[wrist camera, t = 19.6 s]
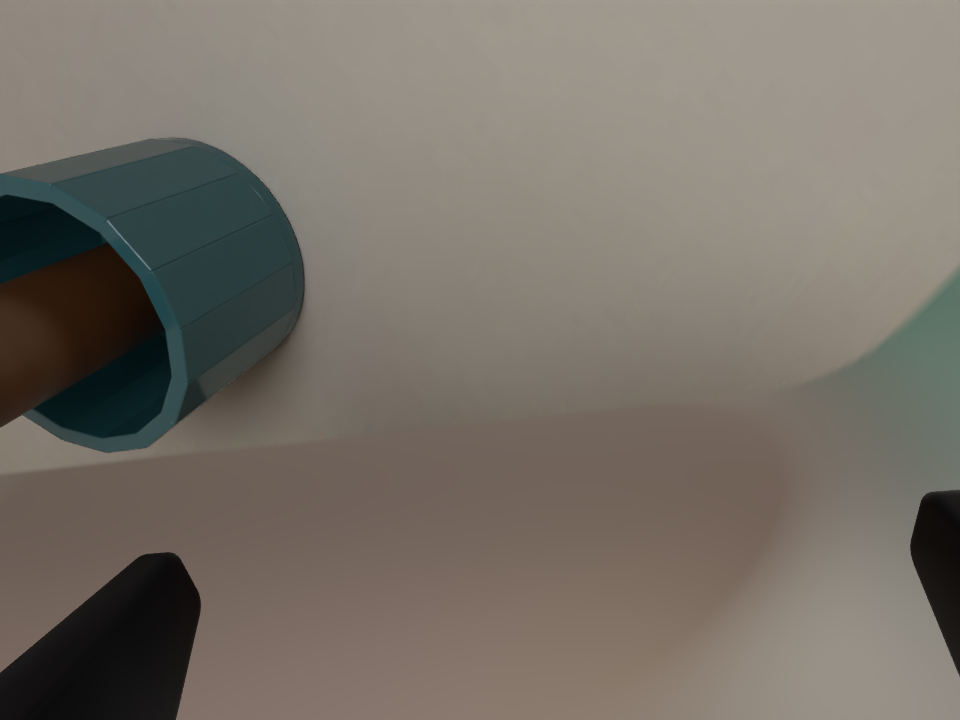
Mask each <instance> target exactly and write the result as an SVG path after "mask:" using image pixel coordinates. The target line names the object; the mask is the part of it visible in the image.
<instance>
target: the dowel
mask: <svg viewBox="0 0 960 720" xmlns="http://www.w3.org/2000/svg"><path fill="white" fill-rule="evenodd" d="M164 331H165V329H164V327H163V325H162V323H161V321H160V319H159V317H158V315H157V313H156V310H155V308H154V306H153V304H152V302H151V300H150V298H149V296H148V294H147V292H146V290H145V288H144V286H143V284H142V282H141V280H140V278H139V277H138V276H137V275H136V274H135V272H134V271H133V270H132V269H131V268H130V267H129V266H128V265H127V263H126V262H125V261H124V260H123V259H122V258H121V257H120V256H119V254H118V253H117V252H116V251H115V250H114V249H113V248H112V247H111V245H110V244H109V243H108V242H107V243H105V244H102V245H99V246H97V247H94V248H92V249H89V250H87V251H84V252H81V253H79V254H76V255H74V256H71V257H68V258H66V259H63V260H61V261H58V262H55V263H53V264H50V265H48V266H45V267H42V268H40V269H37V270H35V271H32V272H29V273H27V274H24V275H22V276H19V277H17V278H14V279H11V280H9V281H6V282H4V283H1V284H0V428H1V427H2V426H4V425H6V424H7V423H9V422H11V421H12V420H14V419H16V418H18V417H19V416H21V415H23V414H24V413H26V412H28V411H29V410H31V409H33V408H35V407H36V406H38V405H40V404H41V403H43V402H45V401H47V400H48V399H50V398H52V397H53V396H55V395H57V394H58V393H60V392H62V391H64V390H65V389H67V388H69V387H70V386H72V385H74V384H76V383H77V382H79V381H81V380H82V379H84V378H86V377H87V376H89V375H91V374H93V373H94V372H96V371H98V370H99V369H101V368H103V367H105V366H106V365H108V364H110V363H111V362H113V361H115V360H116V359H118V358H120V357H122V356H123V355H125V354H127V353H128V352H130V351H132V350H133V349H135V348H137V347H139V346H140V345H142V344H144V343H145V342H147V341H149V340H151V339H152V338H154V337H156V336H157V335H159V334H161V333H162V332H164Z"/></svg>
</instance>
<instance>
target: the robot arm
mask: <svg viewBox="0 0 960 720" xmlns="http://www.w3.org/2000/svg"><path fill="white" fill-rule="evenodd" d="M910 547H911V548H910V550H911V556H912V560H913V563H914V566H915V568H916V571H917V573H918V576H919V578H920V580H921V583H922V585H923V588H924V590H925V593H926V595H927V598H928V600H929V603H930V605H931V607H932V610H933V613H934V615H935V617H936V620H937V622H938V624H939V627H940V629H941V632H942V634H943V637H944V639H945V642H946V644H947V647H948V649H949V651H950V654H951V656H952V659H953V661H954V664H955V666H956V669H957V671H958V673H959V675H960V490H950V491H937V492H930V493H927V494H926V495H925V496H924V497H923V498H922V500H921V503H920V507H919V511H918V515H917V519H916V523H915V526H914V530H913V535H912V538H911V544H910ZM200 609H201V601H200V596H199V593H198V590H197V588H196V587H195V585H194V583H193V581H192V579H191V577H190V576H189V574H188V572H187V570H186V569H185V566H184V565H183V563H182V561H181V559H180V558H179V557H178V556H177V555H175V554H174V553H170V552H166V553H154V554H145V555H142V556H140V557H138V558H137V559H136V560H134V561H133V562H132V563H131V564H130V565H129V566H127V567H126V568H125V569H124V570H122V571H121V572H120V573H119V574H118V575H117V576H115V577H114V578H113V579H112V580H110V581H109V582H108V583H107V584H106V585H105V586H103V587H102V588H101V589H100V590H99V591H97V592H96V593H95V594H94V595H93V596H91V597H90V598H89V599H88V600H87V601H85V602H84V603H83V604H82V605H81V606H79V607H78V608H77V609H76V610H75V611H73V612H72V613H71V614H70V615H69V616H68V617H66V618H65V619H64V620H63V621H62V622H60V623H59V624H58V625H57V626H56V627H54V629H52V630H51V631H50V632H48V633H47V634H46V635H45V636H44V637H42V638H41V639H40V640H39V641H38V642H36V643H35V644H34V645H33V646H32V647H30V648H29V649H28V650H27V651H26V652H25V653H23V654H22V655H21V656H20V657H19V658H17V659H16V660H15V661H14V662H13V663H12V664H10V665H9V666H8V667H7V668H6V669H4V670H3V671H2V672H1V673H0V720H176V716H177V712H178V708H179V704H180V700H181V695H182V691H183V686H184V682H185V677H186V673H187V669H188V664H189V660H190V656H191V651H192V647H193V642H194V638H195V633H196V629H197V625H198V620H199V616H200Z"/></svg>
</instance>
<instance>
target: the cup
mask: <svg viewBox="0 0 960 720" xmlns="http://www.w3.org/2000/svg"><path fill="white" fill-rule="evenodd" d="M107 242H108V243H109V244H110V245H111V247H112V248H113V249H114V250H115V251H116V252H117V253H118V254H119V256H120V257H121V258H122V259H123V260H124V261H125V262H126V263H127V265H128V266H129V267H130V268H131V269H132V270H133V271H134V272H135V274H136V275H137V276H138V277H139V278H140V280H141V282H142V284H143V286H144V288H145V290H146V292H147V294H148V296H149V298H150V300H151V302H152V304H153V306H154V308H155V310H156V313H157V315H158V317H159V319H160V321H161V323H162V325H163V327H164V329H165V331H164V332H162V333H161V334H159V335H157V336H156V337H154V338H152V339H151V340H149V341H147V342H145V343H144V344H142V345H140V346H139V347H137V348H135V349H133V350H132V351H130V352H128V353H127V354H125V355H123V356H122V357H120V358H118V359H116V360H115V361H113V362H111V363H110V364H108V365H106V366H105V367H103V368H101V369H99V370H98V371H96V372H94V373H93V374H91V375H89V376H87V377H86V378H84V379H82V380H81V381H79V382H77V383H76V384H74V385H72V386H70V387H69V388H67V389H65V390H64V391H62V392H60V393H58V394H57V395H55V396H53V397H52V398H50V399H48V400H47V401H45V402H43V403H41V404H40V405H38V406H36V407H35V408H33V409H31V410H29V411H28V412H26V413H24V414H23V416H25V417H26V418H28V419H30V420H31V421H33V422H34V423H36V424H37V425H39V426H41V427H42V428H44V429H45V430H47V431H48V432H50V433H52V434H53V435H55V436H56V437H58V438H59V439H61V440H64V441H66V442H70V443H73V444H77V445H80V446H84V447H87V448H91V449H94V450H98V451H101V452H105V453H106V452H107V453H111V452H119V451H127V450H134V449H142V448H146V447H149V446H150V445H151V444H153V443H154V442H155V441H157V440H158V439H159V438H161V437H162V436H163V435H164V434H166V433H167V432H168V431H170V430H171V429H172V428H173V427H175V426H176V425H177V424H179V423H180V422H181V421H183V420H184V419H185V418H186V417H188V416H189V415H190V414H192V413H193V412H194V411H195V410H197V409H198V408H199V407H201V406H202V405H203V404H205V403H206V402H207V401H208V400H210V399H211V398H212V397H214V396H215V395H216V394H217V393H219V392H220V391H221V390H223V389H224V388H225V387H226V386H228V385H229V384H230V383H232V382H233V381H234V380H236V379H237V378H238V377H239V376H241V375H242V374H243V373H245V372H246V371H247V370H248V369H250V368H251V367H252V366H254V365H255V364H256V363H257V362H259V361H260V360H261V359H262V358H264V357H265V356H266V355H267V354H268V353H270V352H271V351H272V350H274V349H275V348H276V347H277V346H279V345H280V344H281V343H282V342H283V341H284V340H285V339H286V337H287V336H288V334H289V333H290V332H291V330H292V329H293V327H294V325H295V322H296V320H297V318H298V315H299V312H300V309H301V305H302V299H303V293H304V275H303V264H302V259H301V255H300V250H299V247H298V244H297V241H296V238H295V235H294V232H293V230H292V228H291V226H290V223H289V221H288V219H287V217H286V215H285V214H284V212H283V210H282V209H281V207H280V205H279V204H278V202H277V201H276V199H275V198H274V197H273V195H272V194H271V193H270V191H269V190H268V189H267V188H266V187H265V185H264V184H263V183H262V182H261V181H260V180H259V179H258V178H257V177H256V176H255V175H254V174H253V173H252V172H251V171H250V170H248V169H247V168H246V167H245V166H244V165H243V164H241V163H240V162H238V161H237V160H235V159H234V158H233V157H231V156H230V155H228V154H226V153H224V152H222V151H220V150H219V149H217V148H215V147H212V146H209V145H207V144H204V143H202V142H198V141H194V140H190V139H184V138H160V139H147V140H143V141H139V142H134V143H130V144H126V145H122V146H117V147H113V148H109V149H104V150H100V151H96V152H91V153H87V154H83V155H78V156H74V157H70V158H66V159H61V160H57V161H53V162H48V163H44V164H40V165H35V166H31V167H27V168H22V169H18V170H14V171H9V172H5V173H1V174H0V284H1V283H4V282H6V281H9V280H11V279H14V278H17V277H19V276H22V275H24V274H27V273H29V272H32V271H35V270H37V269H40V268H42V267H45V266H48V265H50V264H53V263H55V262H58V261H61V260H63V259H66V258H68V257H71V256H74V255H76V254H79V253H81V252H84V251H87V250H89V249H92V248H94V247H97V246H99V245H102V244H105V243H107Z"/></svg>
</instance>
